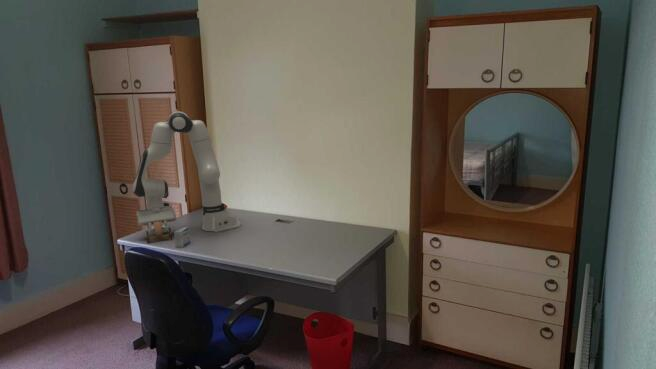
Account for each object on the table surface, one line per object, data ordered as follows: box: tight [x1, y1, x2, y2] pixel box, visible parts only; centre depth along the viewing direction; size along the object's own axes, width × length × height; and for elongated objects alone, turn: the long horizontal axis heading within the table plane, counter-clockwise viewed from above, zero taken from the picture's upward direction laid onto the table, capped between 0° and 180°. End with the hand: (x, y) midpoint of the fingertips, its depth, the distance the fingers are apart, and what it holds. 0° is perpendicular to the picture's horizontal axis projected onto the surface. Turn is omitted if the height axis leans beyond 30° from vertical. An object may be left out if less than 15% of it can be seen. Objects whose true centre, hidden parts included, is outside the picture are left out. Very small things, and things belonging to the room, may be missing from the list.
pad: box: [153, 228, 168, 236], centre depth 272 cm, size 7×10×1 cm
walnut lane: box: [145, 227, 173, 244], centre depth 260 cm, size 13×14×3 cm
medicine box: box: [173, 226, 191, 248], centre depth 247 cm, size 8×4×9 cm, turn 168°
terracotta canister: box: [152, 221, 165, 237], centre depth 257 cm, size 4×4×10 cm
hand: (158, 229), depth 256 cm, fingers closed on terracotta canister, 4 cm apart
